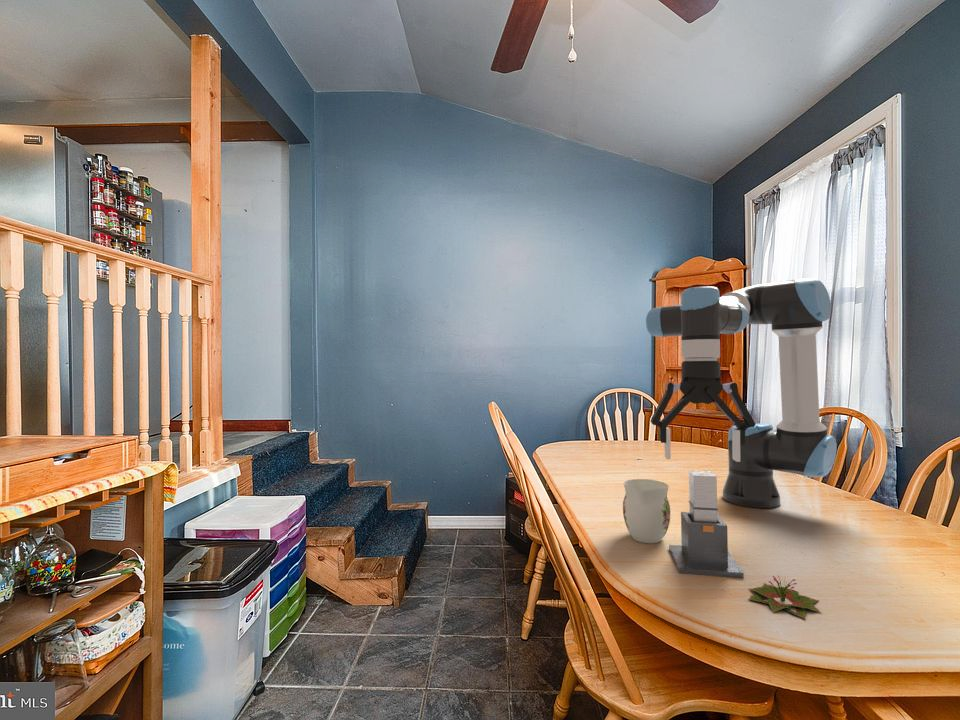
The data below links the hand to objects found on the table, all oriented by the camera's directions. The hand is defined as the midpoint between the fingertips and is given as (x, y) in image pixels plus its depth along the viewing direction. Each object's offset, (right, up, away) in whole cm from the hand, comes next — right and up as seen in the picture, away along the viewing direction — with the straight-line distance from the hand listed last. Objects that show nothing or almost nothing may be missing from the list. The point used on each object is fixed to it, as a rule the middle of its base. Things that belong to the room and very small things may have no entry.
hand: (701, 459), depth 100 cm
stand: (+1, -22, 0) cm, 22 cm away
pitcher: (-6, -23, +15) cm, 28 cm away
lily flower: (+7, -23, -16) cm, 29 cm away
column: (+1, -21, 0) cm, 21 cm away
